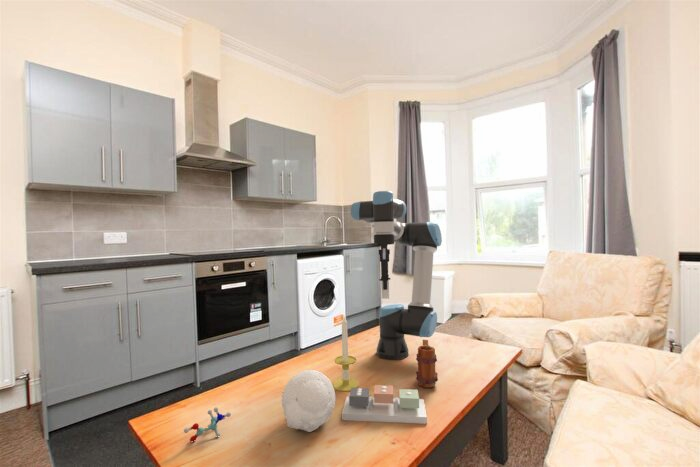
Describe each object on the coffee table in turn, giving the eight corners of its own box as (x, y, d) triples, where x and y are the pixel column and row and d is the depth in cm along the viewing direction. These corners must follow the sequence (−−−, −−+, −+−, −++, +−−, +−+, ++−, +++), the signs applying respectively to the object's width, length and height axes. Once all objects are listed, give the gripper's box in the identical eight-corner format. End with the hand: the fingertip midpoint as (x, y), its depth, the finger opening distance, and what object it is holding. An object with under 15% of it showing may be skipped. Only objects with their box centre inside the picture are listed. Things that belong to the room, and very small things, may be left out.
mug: (438, 391, 120) (437, 350, 120) (416, 390, 122) (415, 349, 122) (436, 374, 135) (435, 337, 135) (416, 373, 136) (415, 337, 136)
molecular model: (197, 412, 103) (208, 390, 100) (224, 425, 104) (236, 404, 101) (175, 446, 92) (187, 422, 89) (207, 460, 93) (219, 437, 90)
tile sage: (399, 398, 110) (399, 388, 110) (417, 398, 109) (417, 389, 109) (399, 407, 104) (399, 397, 104) (419, 408, 103) (419, 398, 103)
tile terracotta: (375, 393, 111) (374, 384, 111) (393, 394, 110) (393, 385, 110) (374, 403, 105) (374, 393, 105) (393, 403, 104) (393, 393, 104)
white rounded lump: (326, 403, 114) (325, 357, 114) (354, 428, 99) (353, 374, 99) (270, 422, 103) (268, 371, 103) (292, 453, 88) (290, 393, 88)
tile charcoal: (351, 396, 112) (351, 387, 112) (369, 396, 111) (369, 387, 111) (349, 405, 106) (349, 395, 106) (368, 406, 105) (367, 396, 105)
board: (346, 402, 114) (346, 392, 114) (423, 405, 111) (423, 395, 111) (342, 419, 103) (342, 409, 103) (427, 423, 100) (426, 413, 100)
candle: (346, 377, 134) (344, 310, 134) (364, 385, 127) (362, 314, 127) (327, 385, 127) (325, 315, 127) (345, 394, 120) (343, 320, 120)
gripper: (374, 233, 128) (375, 294, 128) (372, 234, 115) (374, 301, 115) (394, 233, 127) (395, 294, 127) (394, 233, 114) (396, 301, 114)
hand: (385, 298), depth 121 cm, fingers closed
